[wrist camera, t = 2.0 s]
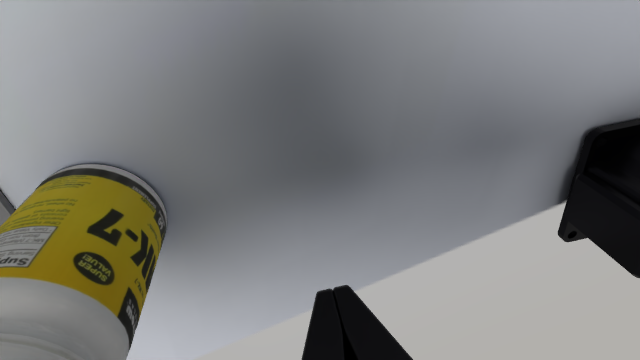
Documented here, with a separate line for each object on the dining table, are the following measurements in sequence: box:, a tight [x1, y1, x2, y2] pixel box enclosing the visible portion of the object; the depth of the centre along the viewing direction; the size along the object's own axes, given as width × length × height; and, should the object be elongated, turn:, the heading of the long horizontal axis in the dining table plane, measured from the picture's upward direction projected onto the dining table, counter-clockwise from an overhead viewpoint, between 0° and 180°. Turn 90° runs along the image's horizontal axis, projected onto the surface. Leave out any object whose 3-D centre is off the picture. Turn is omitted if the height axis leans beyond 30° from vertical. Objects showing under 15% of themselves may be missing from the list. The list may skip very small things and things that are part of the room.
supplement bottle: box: [0, 164, 167, 360], centre depth 11 cm, size 5×5×8 cm
